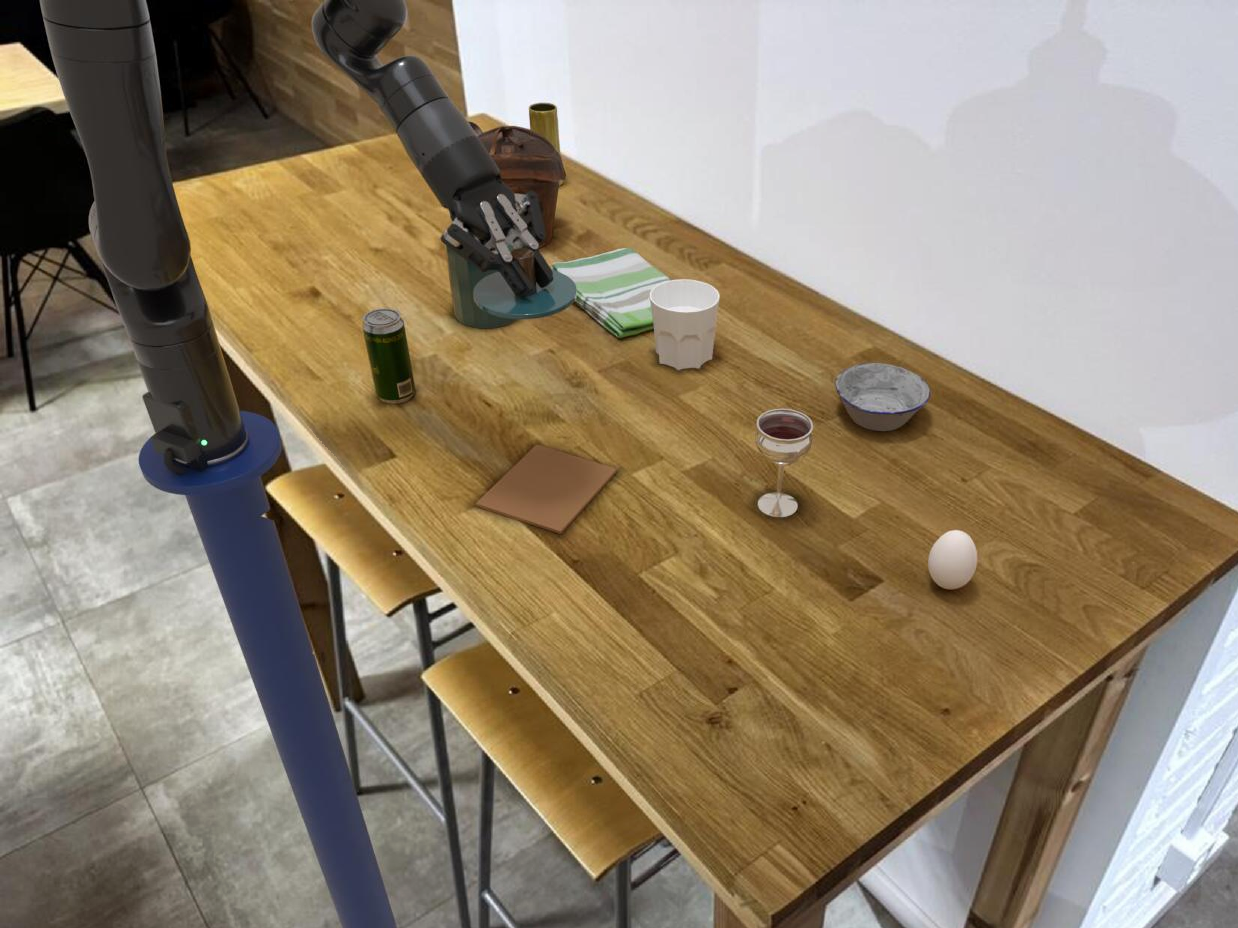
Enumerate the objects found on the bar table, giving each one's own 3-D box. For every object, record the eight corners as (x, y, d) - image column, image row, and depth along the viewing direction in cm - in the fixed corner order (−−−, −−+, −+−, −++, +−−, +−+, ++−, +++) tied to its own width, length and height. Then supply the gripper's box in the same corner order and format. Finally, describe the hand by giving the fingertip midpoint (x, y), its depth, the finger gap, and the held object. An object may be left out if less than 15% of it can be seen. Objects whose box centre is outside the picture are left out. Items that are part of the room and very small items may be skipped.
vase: (525, 182, 208) (519, 107, 199) (547, 173, 212) (542, 99, 203) (549, 190, 205) (543, 115, 196) (570, 181, 209) (566, 106, 200)
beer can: (424, 391, 150) (411, 314, 143) (397, 409, 147) (382, 331, 139) (395, 380, 152) (381, 303, 145) (368, 397, 149) (351, 320, 141)
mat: (561, 534, 128) (560, 531, 127) (476, 506, 131) (475, 503, 131) (617, 471, 137) (617, 468, 137) (536, 447, 141) (536, 444, 141)
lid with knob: (543, 333, 117) (539, 285, 113) (453, 309, 120) (447, 262, 116) (595, 289, 125) (593, 243, 121) (510, 268, 128) (505, 222, 124)
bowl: (881, 453, 142) (885, 422, 139) (812, 411, 150) (815, 381, 147) (943, 419, 149) (949, 389, 146) (875, 381, 156) (879, 351, 153)
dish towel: (633, 259, 184) (633, 239, 182) (711, 313, 170) (712, 293, 168) (545, 283, 176) (543, 263, 174) (619, 343, 162) (618, 322, 160)
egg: (931, 563, 126) (942, 513, 121) (975, 577, 124) (988, 526, 119) (917, 591, 122) (928, 540, 117) (963, 606, 120) (976, 555, 115)
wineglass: (753, 522, 130) (758, 441, 123) (748, 488, 136) (753, 408, 128) (808, 521, 131) (817, 440, 123) (801, 487, 136) (809, 408, 128)
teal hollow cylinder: (499, 334, 163) (490, 257, 155) (440, 318, 166) (429, 242, 158) (536, 305, 171) (529, 230, 163) (479, 290, 174) (470, 216, 166)
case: (521, 206, 199) (512, 107, 188) (591, 240, 189) (586, 138, 178) (440, 233, 189) (425, 131, 178) (510, 271, 179) (499, 165, 168)
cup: (709, 336, 165) (711, 277, 158) (723, 370, 157) (726, 309, 151) (645, 341, 163) (644, 281, 156) (656, 376, 155) (656, 314, 149)
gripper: (412, 153, 110) (509, 297, 113) (508, 118, 119) (596, 252, 122) (386, 190, 116) (478, 326, 119) (480, 154, 125) (564, 281, 127)
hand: (537, 288), depth 120 cm, fingers closed on lid with knob, 2 cm apart
